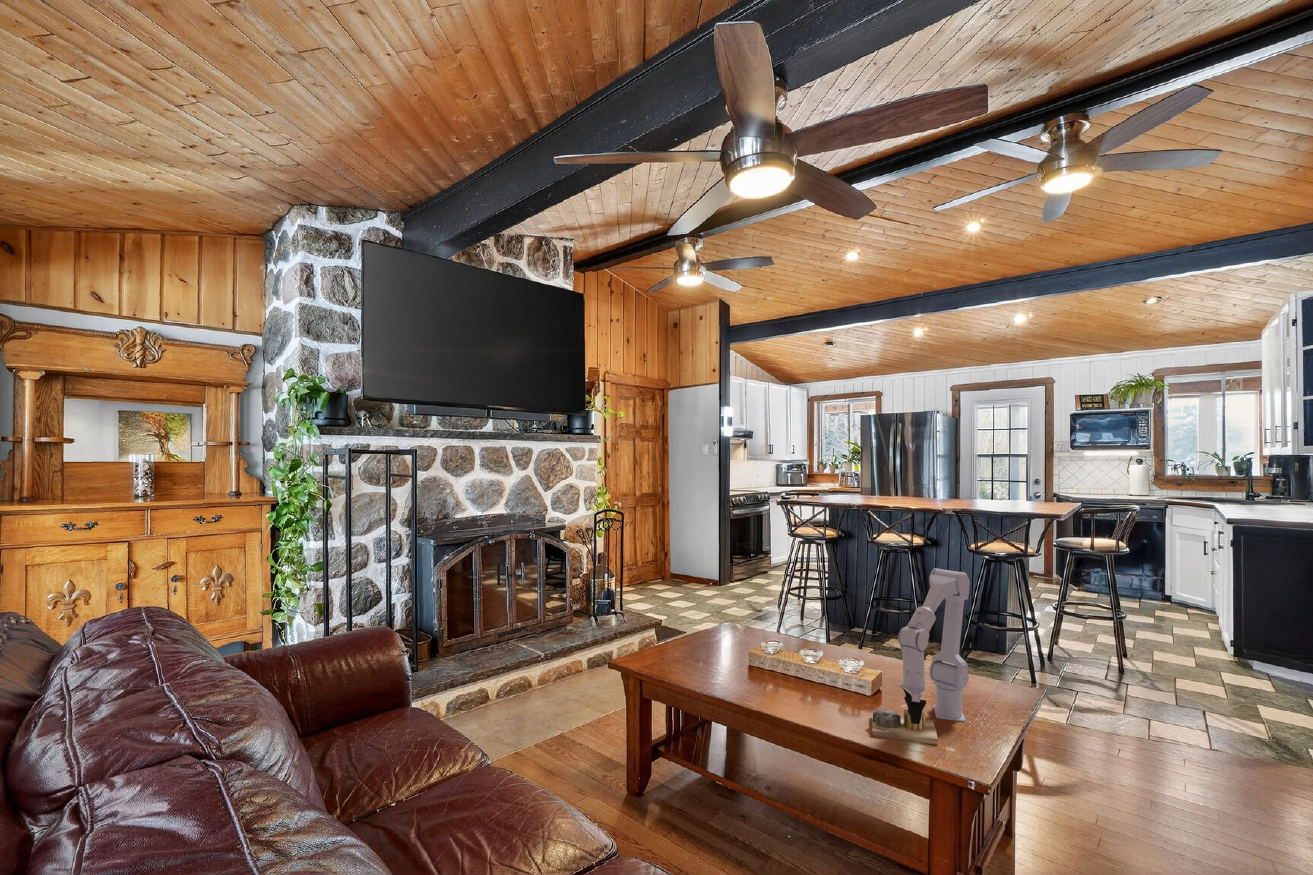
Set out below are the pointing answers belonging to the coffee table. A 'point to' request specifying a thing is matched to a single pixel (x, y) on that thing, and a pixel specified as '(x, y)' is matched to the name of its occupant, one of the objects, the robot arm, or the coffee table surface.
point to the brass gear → (914, 726)
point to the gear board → (901, 728)
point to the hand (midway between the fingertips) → (914, 717)
